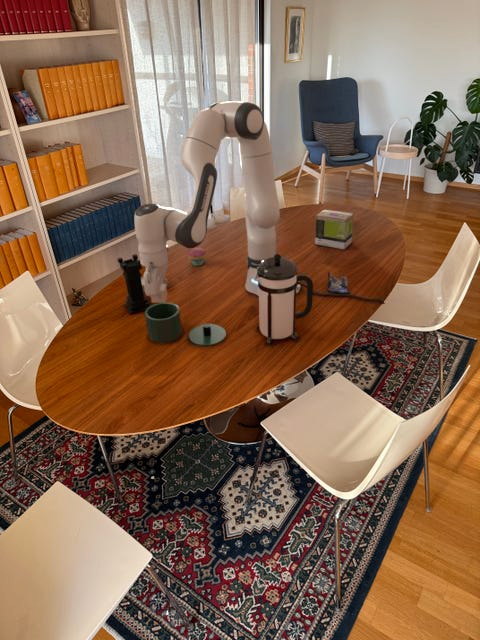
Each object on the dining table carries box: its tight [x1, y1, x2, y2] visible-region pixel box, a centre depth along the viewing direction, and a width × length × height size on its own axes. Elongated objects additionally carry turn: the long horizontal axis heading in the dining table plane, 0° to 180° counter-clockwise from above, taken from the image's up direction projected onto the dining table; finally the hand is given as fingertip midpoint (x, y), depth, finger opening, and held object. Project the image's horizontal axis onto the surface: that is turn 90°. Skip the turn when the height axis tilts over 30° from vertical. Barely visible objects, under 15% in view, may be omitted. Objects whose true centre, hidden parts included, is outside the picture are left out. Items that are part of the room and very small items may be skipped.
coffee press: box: [254, 253, 314, 346], centre depth 153 cm, size 17×16×30 cm
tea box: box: [314, 209, 355, 250], centre depth 220 cm, size 15×10×15 cm, turn 58°
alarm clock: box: [141, 275, 169, 293], centre depth 192 cm, size 11×5×15 cm
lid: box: [188, 323, 227, 347], centre depth 160 cm, size 13×13×5 cm
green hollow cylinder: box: [144, 302, 183, 344], centre depth 161 cm, size 12×12×10 cm
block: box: [150, 284, 168, 304], centre depth 155 cm, size 4×4×4 cm
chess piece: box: [116, 253, 151, 315], centre depth 175 cm, size 8×8×20 cm
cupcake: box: [187, 247, 208, 267], centre depth 208 cm, size 9×8×12 cm
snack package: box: [326, 271, 350, 294], centre depth 185 cm, size 12×6×12 cm
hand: (159, 294), depth 155 cm, fingers closed on block, 4 cm apart
